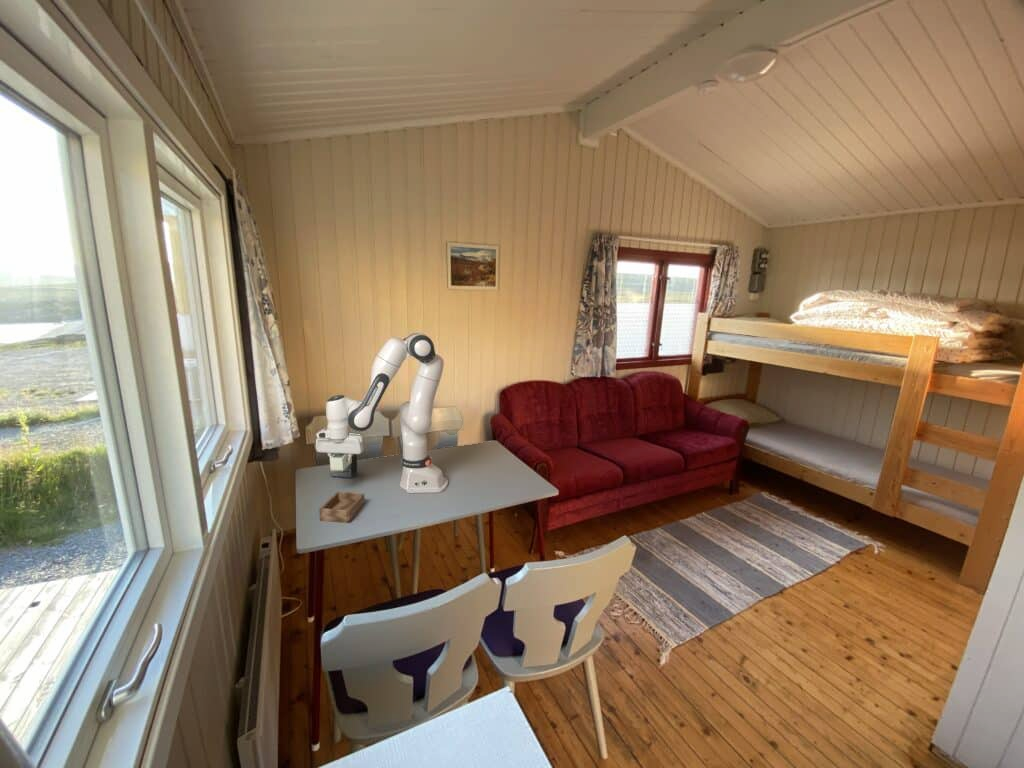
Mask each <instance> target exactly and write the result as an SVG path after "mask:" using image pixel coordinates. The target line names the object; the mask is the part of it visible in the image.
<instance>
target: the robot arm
mask: <svg viewBox="0 0 1024 768" xmlns="http://www.w3.org/2000/svg"><path fill="white" fill-rule="evenodd" d="M408 357H413V358H414V359H416V360H418V363H419V364H418V369H417V371H416V374H415V377H414V380H413V383H412V386H411V389H410V400H408V401H405V402H403V403H402V404H401V405H400V407H399V409H398V412H399V422H400V431H401V439H402V456H401V469H402V472H401V478H400V482H399V487H400V488H402V489H403V490H405V491H406V493H408V494H422V493H423V494H425V493H426V494H428V493H429V494H430V493H431V494H432V493H442V492H443V491H445V490H446V489H447V487H448V485H449V480H448V478H447V477H445V476H444V473H443V471H442V469H441V468H439V467H438V466H436V465H435V464H434V463H432V455H431V456H429V455H428V439H427V436H426V433H427V432H428V431H429V430H430V429H431V426H432V423H433V422H432V415H433V408H434V403H435V402H434V401H435V398H436V394H437V390H438V388H439V385H440V382H441V379H442V376H443V371H444V364H445V362H444V358H443V357H441V356H440V355H439V354H437V353H436V350H435V345H434V342H433V340H432V339H431V337H429V336H428V335H427V334H424V333H421V332H415V333H412V334H410V335H408V336H407V337H405V338H403V339H401V338H399V337H395V336H394V337H390V338H388V339H387V340H386V342H385V343H384V344H383V345H382V347H381V348H380V349H379V351H378V353H377V354H376V356H375V359H374V360H373V363H372V365H371V367H370V368H371V369H370V377H371V378H370V385H369V387H368V389H367V391H366V394H365V395H364V397H363V398H362V400H358V399H357V400H356V399H353V398H350V397H348V396H345V395H343V394H339V395H333V396H331V397H329V398H328V399H327V401H326V403H325V416H326V420H327V426H326V427H324V428H322V429H321V430H318V432H317V433H316V437H317V438H316V439H315V450H316V452H318V453H326V454H327V456H328V457H329V458H330V457H331V456H332V455H334V454H335V453H344V454H348V456H349V458H347V459H346V462H347V463H350V462H351V457H352V455H353V454H357V455H361V454H362V453H363V452H364V449H365V448H364V442H363V440H364V438H363V435H362V434H360V433H359V432H365V431H367V430H369V429H370V428H371V427H372V425H373V424H374V420H375V419H374V418H375V412H376V410H377V407H378V405H379V404H380V402H381V400H382V398H383V395H384V394H385V392H386V390H387V388H388V387H389V385H390V383H392V382H391V381H392V380H393V379H394V378H395V377H396V375H397V373H398V371H399V370H400V369H401V367H402V364H403V362H404V361H405V360H406V359H407V358H408ZM350 429H351V430H352V431H353V430H354V431H355V432H351V431H350Z"/></svg>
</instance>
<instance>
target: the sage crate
mask: <svg viewBox="0 0 1024 768" xmlns="http://www.w3.org/2000/svg"><path fill="white" fill-rule="evenodd" d="M347 458H349V456H348V454H344V453H333V455H332V456H331V457H329V465H330V466H329V467H330V471H331V472H332V471H344V470H345V469H346V468H347V467H348V466H349V465H350V464H351V463H352V458H351V462H350V463H347V462H346V459H347Z"/></svg>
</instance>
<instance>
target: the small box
mask: <svg viewBox="0 0 1024 768" xmlns="http://www.w3.org/2000/svg"><path fill="white" fill-rule="evenodd" d="M351 458H352V463H351V464H350V465H349V466H348V467H347V468H346V469H345V470H344V471H331V478H339V479H341V478H342V479H354V477H355V476H357V475H358V454H353V455H352V457H351Z"/></svg>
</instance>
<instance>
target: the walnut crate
mask: <svg viewBox="0 0 1024 768" xmlns="http://www.w3.org/2000/svg"><path fill="white" fill-rule="evenodd" d="M364 505H365V493H363V492H347V491H335V492H334V494H333V495H332V496H331V497H330V498H329V499H328V500H326V502H325V503H324V504H323V505H322V506H321V507H320V508H319V510H318V511H319V521H320V522H332V523H345V524H350V523H351V522H352V521H353V520H354V518H355V517H356V516H357V514H358V513H359V512H360V510H361V509H362V508H363V507H364Z"/></svg>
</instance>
